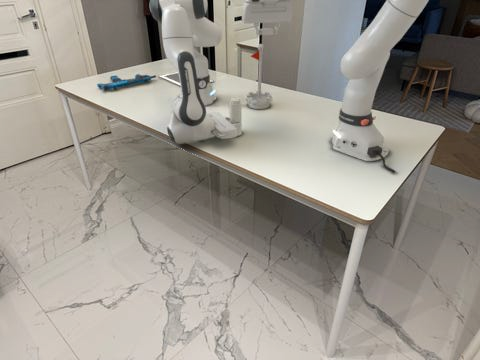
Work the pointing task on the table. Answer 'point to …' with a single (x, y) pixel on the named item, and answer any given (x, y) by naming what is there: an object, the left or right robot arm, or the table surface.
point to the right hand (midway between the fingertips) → (266, 34)
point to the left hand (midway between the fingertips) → (237, 121)
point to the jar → (236, 113)
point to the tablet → (173, 78)
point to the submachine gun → (124, 82)
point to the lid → (267, 31)
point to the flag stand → (259, 87)
